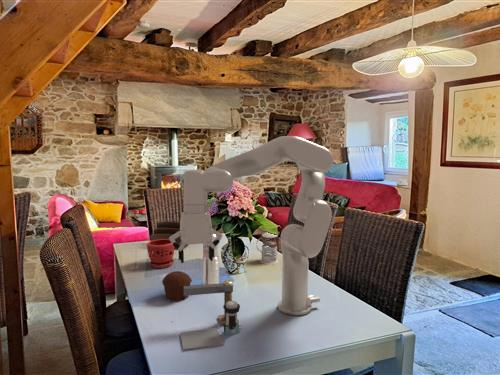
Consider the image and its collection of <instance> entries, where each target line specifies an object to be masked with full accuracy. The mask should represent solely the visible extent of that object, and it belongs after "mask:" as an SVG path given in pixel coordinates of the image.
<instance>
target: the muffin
mask: <svg viewBox="0 0 500 375" xmlns="http://www.w3.org/2000/svg"><path fill="white" fill-rule="evenodd" d="M192 281H193V280H192V278H191V277H190V275H189V274H187V273H186V272H183V271H178V270H176V271H172V272H168V274H166V275H165V277H164V278H163V279H162V282H161V283H162V285H163V287H164V293H165V298H166V301H167V300H168V301H169V302H182V301H185V300H187V299H188V298H189V296H190V295H188V296H184V286H191V283H192Z"/></svg>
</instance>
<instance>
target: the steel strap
mask: <svg viewBox="0 0 500 375" xmlns="http://www.w3.org/2000/svg"><path fill="white" fill-rule="evenodd" d="M233 283H234V281H232V280H230V279H226V280H224V281H223V283H220V282H219V284H206V285H203V284H195V285H193V284H192V285H190V286H184V296H188V295H189V296H197V295H198V296H201V295H211V294H222V293H223V294H224V293H226V292H232V293H233V292H234V284H233ZM189 296H188V297H189Z"/></svg>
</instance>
